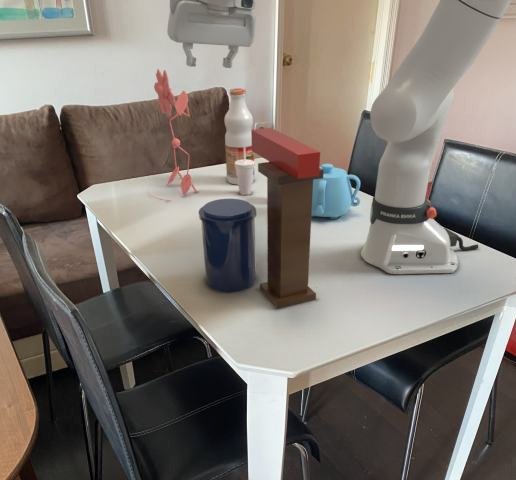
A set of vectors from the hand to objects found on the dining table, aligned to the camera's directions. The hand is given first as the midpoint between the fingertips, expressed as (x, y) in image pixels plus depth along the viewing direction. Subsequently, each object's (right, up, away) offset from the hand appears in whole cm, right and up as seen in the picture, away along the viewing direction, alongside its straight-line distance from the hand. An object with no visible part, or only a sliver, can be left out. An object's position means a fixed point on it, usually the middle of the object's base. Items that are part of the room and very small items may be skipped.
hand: (209, 66), depth 114 cm
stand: (+17, -52, -6) cm, 55 cm away
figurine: (-17, -14, +49) cm, 54 cm away
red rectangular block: (+16, -29, -19) cm, 38 cm away
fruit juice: (+5, -7, +57) cm, 58 cm away
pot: (+5, -48, 0) cm, 49 cm away
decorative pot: (+30, -24, +33) cm, 51 cm away
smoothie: (+7, -15, +47) cm, 50 cm away
